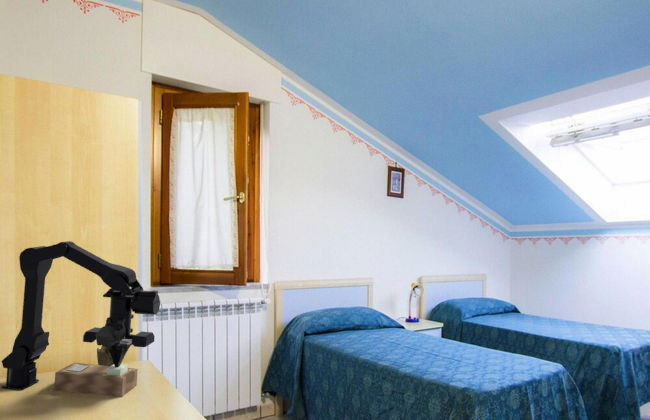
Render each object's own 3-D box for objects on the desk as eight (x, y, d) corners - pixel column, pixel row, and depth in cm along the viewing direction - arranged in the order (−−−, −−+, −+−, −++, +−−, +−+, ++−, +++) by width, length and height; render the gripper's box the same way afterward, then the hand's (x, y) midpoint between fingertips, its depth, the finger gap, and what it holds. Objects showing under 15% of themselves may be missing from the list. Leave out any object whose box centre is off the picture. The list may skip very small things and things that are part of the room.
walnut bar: (54, 390, 123) (55, 372, 123) (72, 379, 131) (73, 362, 131) (121, 396, 122) (122, 378, 122) (136, 385, 130) (137, 368, 130)
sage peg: (105, 385, 124) (106, 368, 124) (113, 380, 128) (114, 363, 128) (119, 386, 124) (120, 369, 124) (126, 381, 128) (127, 365, 128)
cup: (110, 378, 133) (112, 352, 133) (89, 375, 135) (91, 349, 135) (126, 370, 140) (128, 345, 141) (106, 367, 142) (107, 342, 142)
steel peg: (65, 386, 125) (66, 369, 125) (74, 381, 129) (75, 365, 129) (78, 387, 125) (79, 371, 125) (87, 382, 129) (88, 366, 129)
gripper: (71, 316, 119) (68, 374, 119) (137, 322, 117) (133, 380, 117) (96, 307, 130) (93, 360, 130) (156, 312, 128) (153, 366, 128)
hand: (117, 366), depth 126 cm, fingers closed, pressing on sage peg
